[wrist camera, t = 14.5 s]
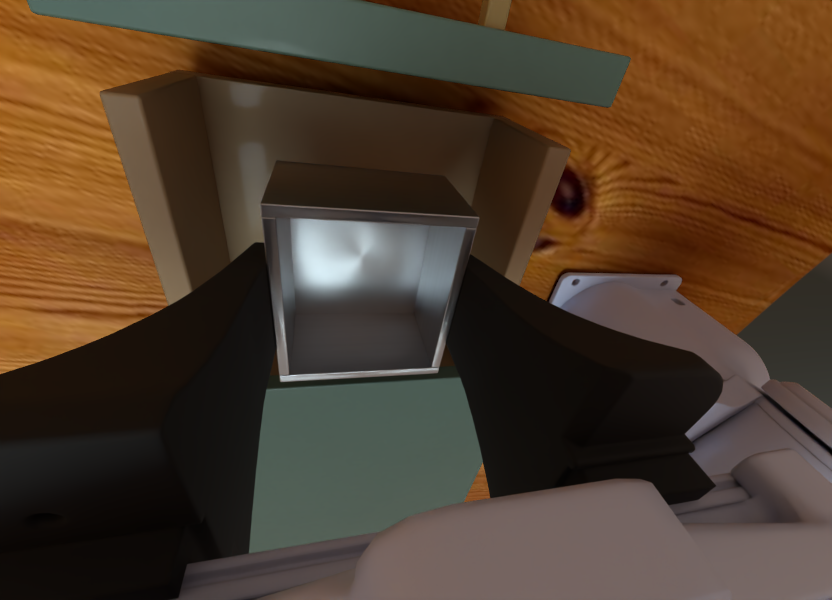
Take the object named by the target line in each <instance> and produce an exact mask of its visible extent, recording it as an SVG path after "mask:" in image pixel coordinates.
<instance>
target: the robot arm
mask: <svg viewBox="0 0 832 600" xmlns="http://www.w3.org/2000/svg"><path fill="white" fill-rule="evenodd" d="M575 279H576V280H575ZM574 280H575V281H574ZM681 282H682V278H681V277H679V276H678V275H662V274H615V273H565V274H563V275H562V276H561V277H560V279H559V280H558V283H557V285H556V287H555V289H554V291H553V294H552V296H551V298H550V300H549V302H547V301H545V300H543V299H541V298H539V297H537V296H536V295H534V294H532V293H530V292H529V291H527V290H525V289H524V288H522V287H520V286H519V285H517V284H515V283H514V282H512V281H511V280H509V279H507V278H506V277H504V276H503V275H501V274H500V273H498V272H497V271H495V270H494V269H492V268H491V267H489V266H488V265H486V264H485V263H483V262H482V261H480V260H479V259H477V258H476V257H474V256H473V255H471V254H470V255H469V259H468V263H467V266H466V270H465V274H464V278H463V281H462V285H461V289H460V292H459V296H458V300H457V304H456V307H455V311H454V315H453V318H452V322H451V326H450V330H449V333H448V337H447V341H446V345H447V347H448V349H449V352H450V354H451V357H452V359H453V362H454V364H455V367H456V369H457V371H458V374H459V376H460V379H461V382H462V384H463V387H464V390H465V393H466V397H467V400H468V404H469V408H470V411H471V415H472V418H473V422H474V426H475V430H476V434H477V438H478V442H479V446H480V451H481V455H482V460H483V464H484V469H485V473H486V478H487V482H488V487H489V493H490V498H489V499H483V500H476V501H470V502H464V503H457V504H451V505H448V506H444V507H440V508H437V509H433V510H429V511H426V512H422V513H418V514H415V515H411V516H409V517H407V518H405V519H403V520H402V521H400V522H398V523H396V524H394V525H392V526H391V527H389V528H387V529H385V530H383V531H380V532H374V533H368V534H362V535H356V536H351V537H345V538H339V539H333V540H327V541H321V542H315V543H309V544H303V545H297V546H291V547H285V548H279V549H273V550H267V551H262V552H256V553H250V554H249V547H250V534H251V522H252V510H253V499H254V489H255V478H256V468H257V459H258V449H259V440H260V431H261V422H262V414H263V406H264V400H265V395H266V389H267V385H268V381H269V377H270V372H271V368H272V364H273V360H274V355H275V351H276V343H275V334H274V325H273V316H272V308H271V299H270V290H269V281H268V273H267V264H266V255H265V246H264V242H255V243H253V244H252V245H251V246H250V247H249V248H247V249H246V250H245V251H244V252H243V253H242V254H240V255H239V256H238V257H237V258H236V259H235V260H233V261H232V262H231V263H230V264H229V265H227V266H226V267H225V268H224V269H222V270H221V271H220V272H219V273H217V274H216V275H215V276H213V277H212V278H210V279H209V280H208V281H206V282H205V283H203V284H202V285H201V286H199V287H198V288H196V289H195V290H194V291H192V292H191V293H189V294H188V295H186V296H184V297H183V298H181V299H179V300H178V301H176V302H174V303H173V304H171V305H169V306H167V307H166V308H164V309H162V310H160V311H158V312H157V313H155V314H153V315H151V316H149V317H147V318H145V319H142V320H140V321H138V322H136V323H134V324H132V325H130V326H128V327H125V328H123V329H121V330H119V331H117V332H115V333H113V334H110V335H108V336H106V337H103V338H101V339H99V340H96V341H94V342H91V343H89V344H86V345H84V346H81V347H79V348H76V349H73V350H71V351H68V352H65V353H63V354H60V355H57V356H54V357H52V358H49V359H46V360H43V361H40V362H37V363H35V364H31V365H28V366H25V367H22V368H19V369H16V370H13V371H9V372H6V373H3V374H0V600H832V409H831V408H830V407H829V406H827V405H826V404H825V403H823V402H822V401H821V400H819V399H818V398H817V397H815V396H814V395H813V394H811V393H810V392H809V391H807V390H806V389H805V388H803V387H802V386H800V385H799V384H798V383H793V382H781V383H780V382H778V381H777V380H770V378H769V374H768V372H767V369H766V367H765V365H764V363H763V361H762V360H761V358H760V357H759V355H758V354H757V353H756V351H754V349H753V348H752V347H751V346H749V345H748V344H747V343H746V342H745V341H743V340H742V339H740V338H739V337H738V336H736V335H735V334H734V333H732V332H731V331H730V330H728V329H727V328H726V327H724V326H723V325H722V324H720V323H719V322H717V321H716V320H715V319H713V318H712V317H711V316H709V315H708V314H707V313H705V312H704V311H703V310H701V309H700V308H699V307H697V306H696V305H695V304H693V303H692V302H690V301H689V300H688V299H686V298H685V297H684V296H682V295H681V294H680V293H678V292H677V291H676V290H677V288H678V287H679V286H680V284H681Z"/></svg>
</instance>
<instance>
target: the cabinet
mask: <svg viewBox="0 0 832 600" xmlns="http://www.w3.org/2000/svg"><path fill="white" fill-rule="evenodd" d="M482 463H483V460H482V455H481V451H480V446H479V442H478V438H477V434H476V430H475V426H474V422H473V418H472V415H471V411H470V408H469V404H468V400H467V397H466V393H465V390H464V387H463V384H462V382H461V379H460V376H459V374H458V371H457V369H456V367H455V366H443V367H439V370H438V373H431V374H413V375H396V376H378V377H361V378H343V379H326V380H308V381H291V382H280V378H279V375H270V377H269V381H268V385H267V389H266V395H265V400H264V406H263V414H262V422H261V431H260V440H259V449H258V459H257V468H256V478H255V489H254V499H253V510H252V522H251V534H250V547H249V554H250V553H256V552H262V551H267V550H273V549H279V548H285V547H291V546H297V545H303V544H309V543H315V542H321V541H327V540H333V539H339V538H345V537H351V536H356V535H362V534H368V533H374V532H380V531H383V530H385V529H387V528H389V527H391V526H392V525H394V524H396V523H398V522H400V521H402V520H403V519H405V518H407V517H409V516H411V515H415V514H418V513H422V512H426V511H429V510H433V509H437V508H440V507H444V506H448V505H451V504H457V503H463V502H464V500H465V498H466V496H467V494H468V492H469V490H470V488H471V486H472V484H473V481H474V479H475V477H476V475H477V473H478V471H479V469H480V467H481V465H482Z"/></svg>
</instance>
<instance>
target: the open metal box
mask: <svg viewBox="0 0 832 600" xmlns="http://www.w3.org/2000/svg"><path fill="white" fill-rule="evenodd" d="M260 211H261V216H262V217H261V220H262V229H263V237H264V246H265V255H266V264H267V273H268V281H269V290H270V299H271V308H272V316H273V325H274V334H275V343H276V352H277V360H278V369H279V378H280V382H291V381H308V380H326V379H343V378H361V377H378V376H396V375H413V374H431V373H438V370H439V366H440V363H441V359H442V356H443V352H444V348H445V344H446V341H447V337H448V333H449V330H450V326H451V322H452V318H453V315H454V311H455V307H456V304H457V300H458V296H459V292H460V289H461V285H462V281H463V278H464V274H465V270H466V266H467V263H468V259H469V255H470V252H471V248H472V244H473V240H474V237H475V233H476V228H477V226H478V222H479V216H478V215H477V214H476V212H475V211H474V210H473V209H472V208H471V206H470V205H469V204H468V203H467V202H466V200H465V199H464V198H463V197H462V196H461V194H460V193H459V192H458V191H457V190H456V188H455V187H454V186H453V185H452V184H451V182H450V181H449V180H448V179H447V178H446V176H443V175H432V174H421V173H410V172H399V171H389V170H378V169H367V168H356V167H345V166H334V165H323V164H312V163H301V162H290V161H279V160H276V162H275V165H274V168H273V170H272V173H271V176H270V178H269V181H268V184H267V187H266V189H265V192H264V195H263V197H262V200H261V203H260Z"/></svg>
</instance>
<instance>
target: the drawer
mask: <svg viewBox="0 0 832 600" xmlns="http://www.w3.org/2000/svg"><path fill="white" fill-rule="evenodd" d="M511 1H512V0H483V1H482V6H481V11H480V16H479V21H478V25H477V24H472V23H467V22H462V21H458V20H453V19H448V18H443V17H439V16H434V15H429V14H424V13H420V12H415V11H410V10H405V9H401V8H396V7H391V6H386V5H382V4H377V3H372V2H367V1H363V0H27V2H28V5H29V8H30V10H31V11H32V12H33V13H35V14H38V15H44V16H50V17H56V18H62V19H68V20H74V21H81V22H87V23H93V24H99V25H105V26H111V27H117V28H123V29H130V30H136V31H142V32H148V33H154V34H160V35H166V36H172V37H179V38H185V39H191V40H197V41H203V42H209V43H215V44H221V45H228V46H234V47H240V48H246V49H252V50H258V51H264V52H270V53H277V54H283V55H289V56H295V57H301V58H307V59H313V60H319V61H326V62H332V63H338V64H344V65H350V66H356V67H362V68H368V69H374V70H381V71H387V72H393V73H399V74H405V75H411V76H417V77H423V78H430V79H436V80H442V81H448V82H454V83H460V84H466V85H472V86H479V87H485V88H491V89H497V90H503V91H509V92H515V93H521V94H528V95H534V96H540V97H546V98H552V99H558V100H564V101H570V102H577V103H583V104H589V105H595V106H601V107H607V108H608V107H611V105H612V103H613V101H614V98H615V96H616V93H617V91H618V89H619V86H620V84H621V82H622V79H623V77H624V74H625V72H626V70H627V67H628V65H629V62H630V60H631V58H630V57H628V56H624V55H619V54H614V53H609V52H605V51H600V50H595V49H590V48H586V47H581V46H576V45H571V44H567V43H562V42H557V41H552V40H548V39H543V38H538V37H533V36H529V35H524V34H519V33H515V32H510V31H505V27H506V23H507V18H508V14H509V10H510V6H511ZM100 97H101V100H102V103H103V106H104V109H105V112H106V116H107V119H108V122H109V125H110V128H111V131H112V134H113V137H114V140H115V143H116V146H117V149H118V152H119V155H120V158H121V162H122V165H123V168H124V171H125V174H126V177H127V180H128V183H129V186H130V189H131V192H132V195H133V198H134V201H135V204H136V207H137V211H138V214H139V217H140V220H141V223H142V226H143V229H144V232H145V235H146V238H147V241H148V244H149V247H150V250H151V253H152V256H153V260H154V263H155V266H156V269H157V272H158V275H159V278H160V281H161V284H162V287H163V290H164V293H165V296H166V299H167V302H168V306H169V305H171V304H173V303H174V302H176V301H178V300H179V299H181V298H183V297H184V296H186V295H188V294H189V293H191V292H192V291H194V290H195V289H196V288H198V287H199V286H201V285H202V284H203V283H205V282H206V281H208V280H209V279H210V278H212V277H213V276H215V275H216V274H217V273H219V272H220V271H221V270H222V269H224V268H225V267H226V266H227V265H229V264H230V263H231V262H232V261H233V260H235V259H236V258H237V257H238V256H239V255H240V254H242V253H243V252H244V251H245V250H246V249H247V248H249V247H250V246H251V245H252V244H253V243H255V242H264V237H263V229H262V220H261V217H262V216H261V211H260V203H261V200H262V197H263V195H264V192H265V189H266V187H267V184H268V181H269V178H270V176H271V173H272V170H273V168H274V165H275V162H276V160H279V161H290V162H301V163H312V164H323V165H334V166H345V167H356V168H367V169H378V170H389V171H399V172H410V173H421V174H432V175H443V176H446V178H447V179H448V180H449V181H450V182H451V184H452V185H453V186H454V187H455V188H456V190H457V191H458V192H459V193H460V194H461V196H462V197H463V198H464V199H465V200H466V202H467V203H468V204H469V205H470V206H471V208H472V209H473V210H474V211H475V212H476V214H477V215H478V216H479V222H478V226H477V228H476V233H475V237H474V240H473V244H472V248H471V252H470V254H471V255H473V256H474V257H476V258H477V259H479V260H480V261H482V262H483V263H485V264H486V265H488V266H489V267H491V268H492V269H494V270H495V271H497V272H498V273H500V274H501V275H503V276H504V277H506V278H507V279H509V280H511V281H512V282H514V283H515V284H517V285H520V282H521V280H522V277H523V275H524V272H525V269H526V267H527V264H528V262H529V259H530V256H531V254H532V251H533V249H534V246H535V243H536V241H537V238H538V236H539V233H540V230H541V228H542V225H543V223H544V220H545V217H546V215H547V212H548V210H549V207H550V204H551V202H552V199H553V197H554V194H555V191H556V189H557V186H558V183H559V181H560V178H561V176H562V173H563V170H564V168H565V165H566V163H567V160H568V157H569V155H570V152H571V150H570V149H569V148H567V147H565V146H563V145H561V144H559V143H557V142H555V141H553V140H550V139H548V138H546V137H544V136H542V135H540V134H538V133H536V132H534V131H532V130H530V129H528V128H526V127H523V126H521V125H519V124H517V123H515V122H513V121H511V120H510V119H507V118H505V117H503V116H497V115H490V114H483V113H476V112H469V111H462V110H456V109H449V108H442V107H435V106H428V105H421V104H414V103H407V102H400V101H393V100H386V99H379V98H372V97H365V96H358V95H351V94H344V93H337V92H330V91H323V90H316V89H309V88H302V87H295V86H288V85H281V84H274V83H267V82H260V81H253V80H246V79H239V78H232V77H225V76H218V75H211V74H204V73H197V72H190V71H183V70H176V71H172V72H170V73H167V74H163V75H159V76H155V77H152V78H148V79H144V80H140V81H137V82H133V83H129V84H126V85H122V86H118V87H114V88H111V89H107V90H103V91H100ZM443 366H455V364H454V362H453V359H452V357H451V354H450V352H449V349H448V347H447V345H446V344H445V348H444V352H443V356H442V359H441V363H440V366H439V367H443ZM270 375H279V369H278V360H277V352H276V351H275V355H274V360H273V364H272V368H271V372H270Z"/></svg>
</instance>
